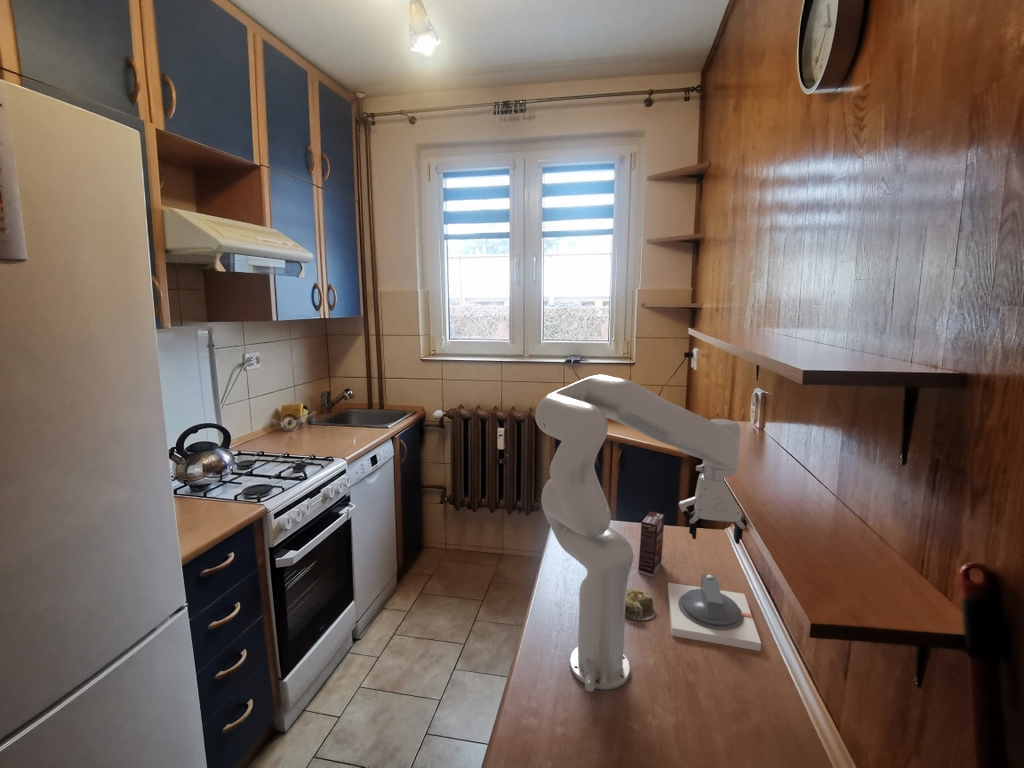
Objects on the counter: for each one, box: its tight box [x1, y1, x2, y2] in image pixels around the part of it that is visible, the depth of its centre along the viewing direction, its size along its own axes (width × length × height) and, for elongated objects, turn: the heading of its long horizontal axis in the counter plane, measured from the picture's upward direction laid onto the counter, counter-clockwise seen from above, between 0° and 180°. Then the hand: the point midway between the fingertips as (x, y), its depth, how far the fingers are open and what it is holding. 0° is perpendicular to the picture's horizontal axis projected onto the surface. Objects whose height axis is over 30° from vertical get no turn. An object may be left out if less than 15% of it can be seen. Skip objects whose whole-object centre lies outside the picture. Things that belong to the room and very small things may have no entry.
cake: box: [625, 588, 657, 622], centre depth 122 cm, size 10×10×5 cm
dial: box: [683, 573, 740, 626], centre depth 118 cm, size 13×13×6 cm
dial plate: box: [667, 582, 762, 652], centre depth 119 cm, size 19×19×2 cm
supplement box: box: [637, 511, 665, 578], centre depth 140 cm, size 9×5×16 cm, turn 148°
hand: (714, 538), depth 116 cm, fingers open, 9 cm apart
